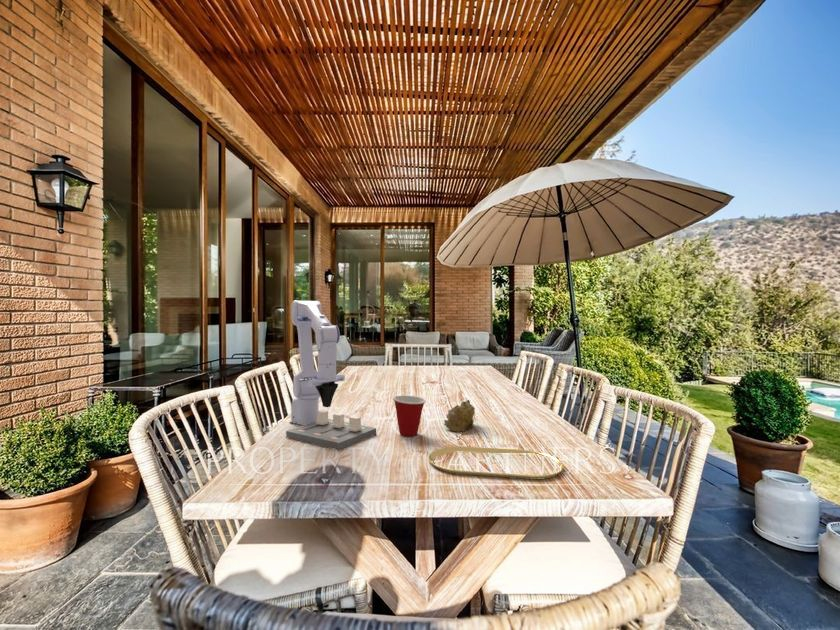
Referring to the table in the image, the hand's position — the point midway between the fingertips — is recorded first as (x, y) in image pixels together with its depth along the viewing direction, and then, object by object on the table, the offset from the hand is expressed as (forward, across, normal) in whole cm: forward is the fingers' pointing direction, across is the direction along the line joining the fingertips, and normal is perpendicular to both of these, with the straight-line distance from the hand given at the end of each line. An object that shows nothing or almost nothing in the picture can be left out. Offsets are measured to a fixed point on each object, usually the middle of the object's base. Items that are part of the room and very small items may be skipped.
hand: (326, 406), depth 130 cm
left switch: (+8, +6, +7) cm, 12 cm away
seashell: (+10, +35, -30) cm, 47 cm away
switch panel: (+10, +2, 0) cm, 10 cm away
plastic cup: (+10, +18, -20) cm, 29 cm away
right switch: (+8, +6, -7) cm, 12 cm away
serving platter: (+10, +8, -53) cm, 55 cm away
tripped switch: (+8, +6, 0) cm, 9 cm away
